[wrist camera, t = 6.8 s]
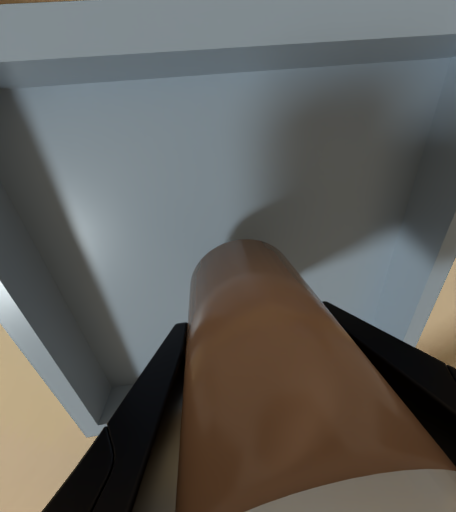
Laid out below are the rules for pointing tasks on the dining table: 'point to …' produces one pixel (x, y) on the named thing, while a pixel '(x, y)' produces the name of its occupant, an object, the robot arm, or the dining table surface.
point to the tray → (215, 168)
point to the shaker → (291, 403)
